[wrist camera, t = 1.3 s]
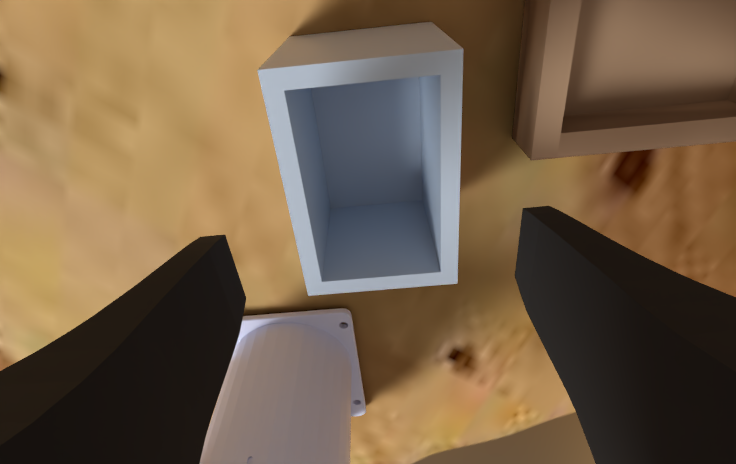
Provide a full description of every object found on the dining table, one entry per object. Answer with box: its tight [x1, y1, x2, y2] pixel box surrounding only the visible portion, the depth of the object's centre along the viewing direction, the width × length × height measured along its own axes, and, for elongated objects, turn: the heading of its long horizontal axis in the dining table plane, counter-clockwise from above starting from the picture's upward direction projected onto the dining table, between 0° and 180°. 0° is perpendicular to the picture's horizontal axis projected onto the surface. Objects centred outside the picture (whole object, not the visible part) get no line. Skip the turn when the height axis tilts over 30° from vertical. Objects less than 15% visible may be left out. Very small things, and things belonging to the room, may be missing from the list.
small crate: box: [258, 22, 463, 296], centre depth 16 cm, size 8×6×6 cm
